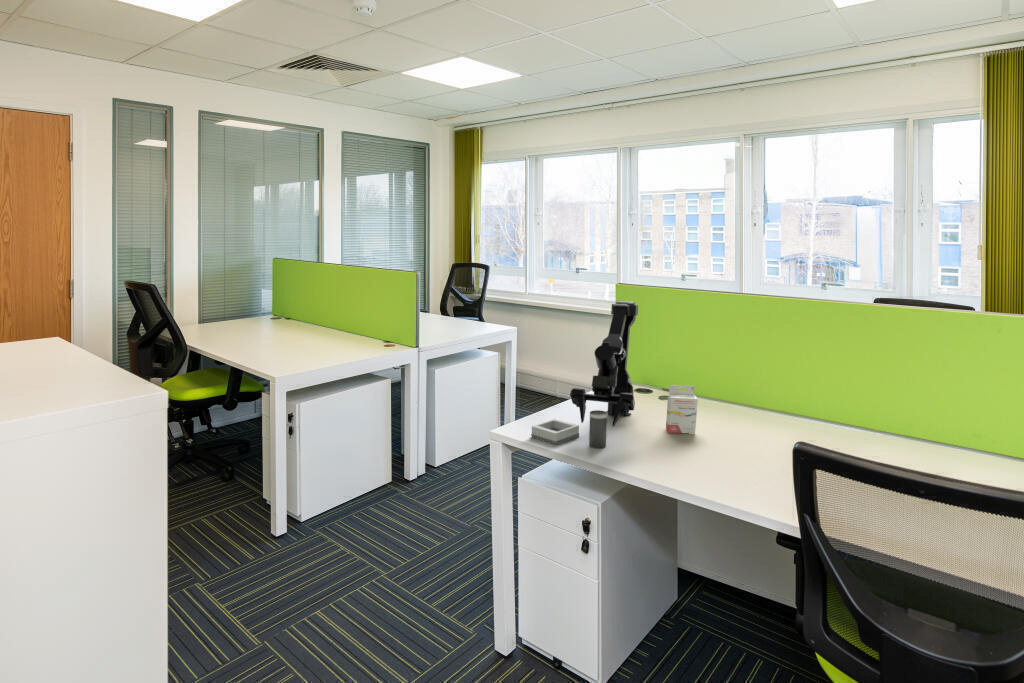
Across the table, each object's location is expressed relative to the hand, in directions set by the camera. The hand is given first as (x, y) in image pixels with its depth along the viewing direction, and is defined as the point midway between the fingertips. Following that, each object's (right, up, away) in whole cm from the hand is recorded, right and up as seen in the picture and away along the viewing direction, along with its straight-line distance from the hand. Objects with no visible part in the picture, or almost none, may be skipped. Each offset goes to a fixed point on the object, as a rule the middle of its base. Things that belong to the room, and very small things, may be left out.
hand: (597, 423), depth 179 cm
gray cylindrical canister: (0, -7, +2) cm, 7 cm away
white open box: (-12, -5, +10) cm, 16 cm away
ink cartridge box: (+28, -5, +16) cm, 33 cm away
